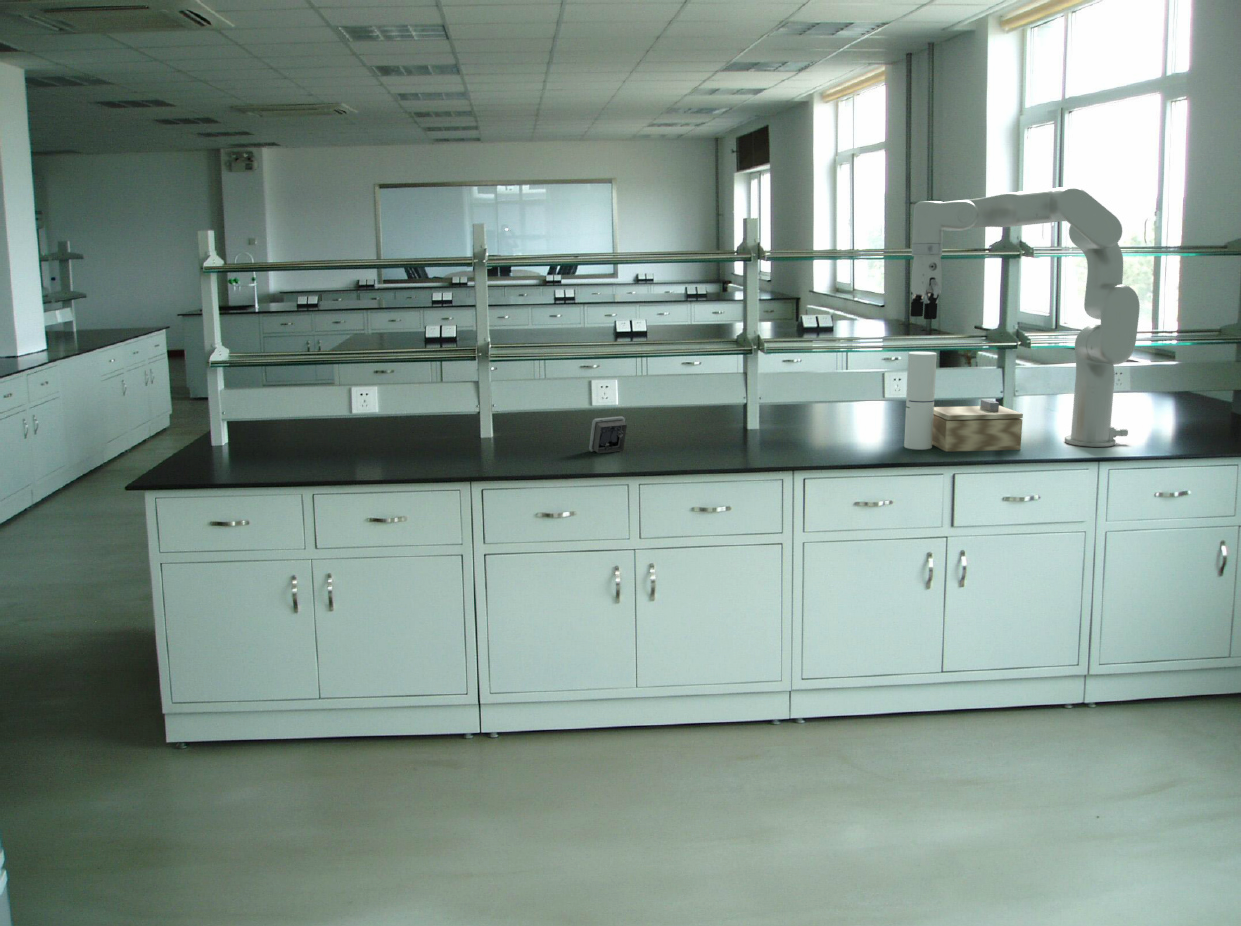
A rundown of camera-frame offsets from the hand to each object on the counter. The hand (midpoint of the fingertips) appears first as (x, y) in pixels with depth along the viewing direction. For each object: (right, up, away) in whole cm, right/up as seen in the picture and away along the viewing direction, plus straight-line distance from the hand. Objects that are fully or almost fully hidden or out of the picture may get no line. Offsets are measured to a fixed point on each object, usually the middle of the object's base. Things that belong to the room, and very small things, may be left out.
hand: (923, 317), depth 278 cm
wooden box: (+15, -33, +8) cm, 37 cm away
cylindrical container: (+1, -34, +7) cm, 34 cm away
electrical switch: (-82, -35, +5) cm, 89 cm away
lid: (+15, -25, +6) cm, 30 cm away
